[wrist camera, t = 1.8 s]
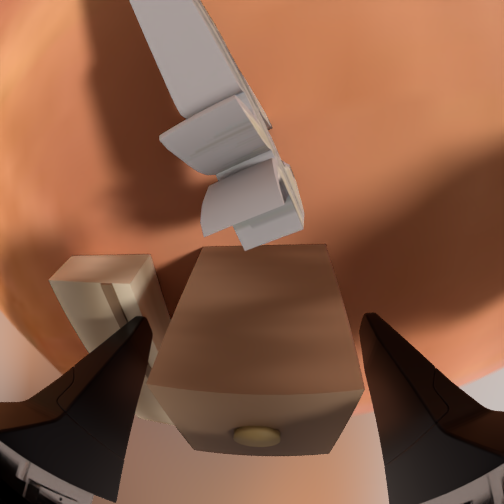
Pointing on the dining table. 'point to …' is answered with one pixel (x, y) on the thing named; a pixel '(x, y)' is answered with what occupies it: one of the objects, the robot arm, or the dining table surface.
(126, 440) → the robot arm
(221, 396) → the brown block with knob
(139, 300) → the board
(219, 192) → the caliper
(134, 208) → the dining table surface
